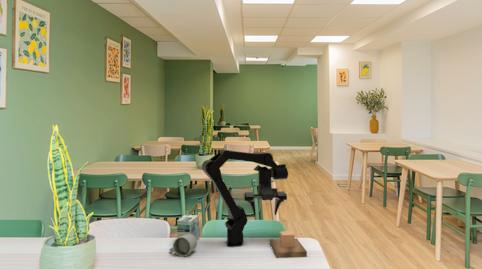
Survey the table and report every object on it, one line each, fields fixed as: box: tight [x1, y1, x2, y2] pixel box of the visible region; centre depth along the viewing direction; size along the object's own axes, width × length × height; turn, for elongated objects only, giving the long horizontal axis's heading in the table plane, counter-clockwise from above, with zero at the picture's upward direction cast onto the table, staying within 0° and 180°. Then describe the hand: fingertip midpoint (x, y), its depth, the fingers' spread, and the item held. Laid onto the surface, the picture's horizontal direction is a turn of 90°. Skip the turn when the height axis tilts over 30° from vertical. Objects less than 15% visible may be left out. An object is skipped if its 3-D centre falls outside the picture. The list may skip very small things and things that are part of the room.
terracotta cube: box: [279, 230, 296, 248], centre depth 150 cm, size 5×5×5 cm
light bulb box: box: [176, 214, 200, 241], centre depth 161 cm, size 11×7×11 cm, turn 168°
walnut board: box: [269, 238, 308, 259], centre depth 150 cm, size 12×16×2 cm
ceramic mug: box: [169, 234, 198, 258], centre depth 148 cm, size 11×8×8 cm
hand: (265, 215), depth 163 cm, fingers open, 9 cm apart
